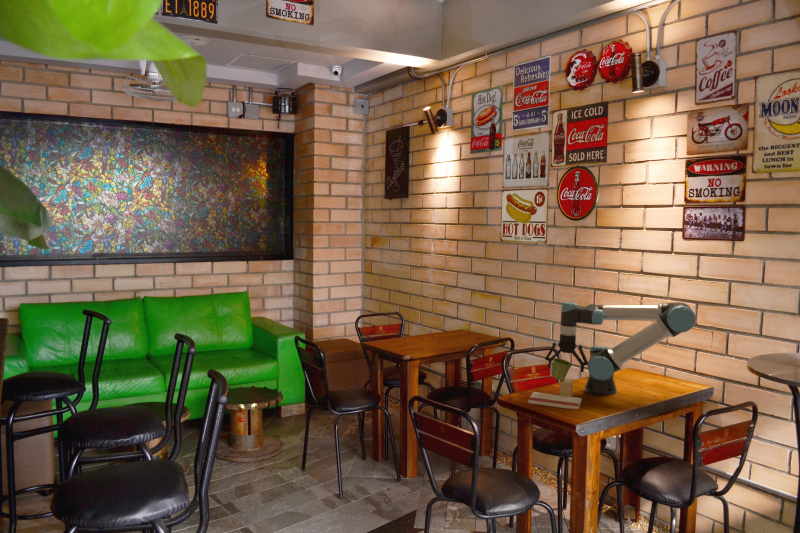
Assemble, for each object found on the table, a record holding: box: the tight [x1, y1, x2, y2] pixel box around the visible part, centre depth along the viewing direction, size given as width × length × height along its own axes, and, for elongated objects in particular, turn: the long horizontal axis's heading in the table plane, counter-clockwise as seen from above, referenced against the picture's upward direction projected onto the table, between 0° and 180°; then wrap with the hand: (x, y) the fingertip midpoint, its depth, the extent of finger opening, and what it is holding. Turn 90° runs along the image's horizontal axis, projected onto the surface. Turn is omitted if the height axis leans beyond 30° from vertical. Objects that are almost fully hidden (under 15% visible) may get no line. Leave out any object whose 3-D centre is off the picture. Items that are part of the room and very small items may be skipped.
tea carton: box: [559, 377, 574, 397], centre depth 292 cm, size 5×8×8 cm, turn 157°
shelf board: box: [527, 391, 583, 410], centre depth 283 cm, size 23×14×3 cm, turn 67°
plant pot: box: [551, 357, 573, 381], centre depth 293 cm, size 9×9×9 cm
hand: (565, 376), depth 292 cm, fingers open, 13 cm apart
